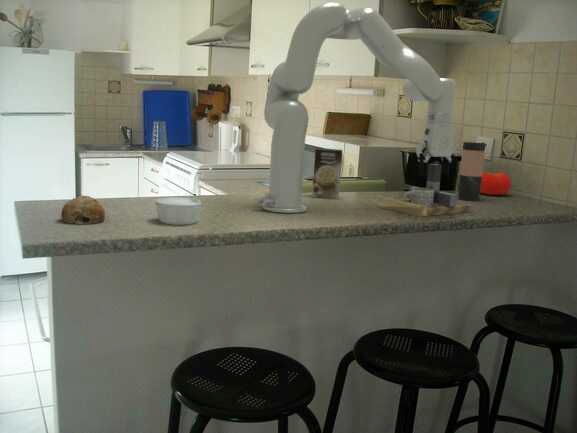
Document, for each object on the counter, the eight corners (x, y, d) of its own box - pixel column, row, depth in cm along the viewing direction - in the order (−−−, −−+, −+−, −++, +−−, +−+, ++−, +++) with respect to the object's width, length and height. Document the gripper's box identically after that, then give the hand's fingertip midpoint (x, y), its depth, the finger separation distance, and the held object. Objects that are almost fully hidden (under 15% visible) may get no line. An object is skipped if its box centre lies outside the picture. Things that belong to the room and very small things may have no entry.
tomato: (504, 193, 246) (507, 171, 244) (512, 198, 234) (515, 175, 232) (471, 191, 247) (474, 169, 246) (477, 195, 235) (479, 173, 234)
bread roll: (62, 239, 148) (63, 211, 144) (59, 213, 156) (60, 186, 151) (106, 237, 152) (108, 210, 148) (100, 212, 160) (102, 186, 155)
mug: (425, 208, 199) (427, 187, 198) (436, 212, 193) (438, 190, 192) (397, 208, 196) (398, 187, 195) (406, 212, 190) (408, 190, 189)
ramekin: (208, 224, 156) (208, 203, 155) (165, 227, 150) (166, 205, 149) (189, 216, 165) (190, 196, 164) (148, 218, 159) (149, 198, 158)
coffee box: (311, 197, 209) (314, 148, 206) (312, 194, 215) (315, 147, 212) (338, 199, 208) (342, 150, 205) (339, 196, 214) (342, 149, 211)
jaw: (449, 206, 190) (453, 167, 188) (408, 197, 204) (411, 161, 202) (456, 206, 192) (460, 167, 190) (414, 197, 205) (418, 161, 203)
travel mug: (482, 199, 225) (488, 143, 221) (476, 202, 219) (482, 144, 215) (461, 197, 229) (466, 141, 225) (454, 199, 223) (460, 142, 219)
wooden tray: (418, 216, 183) (419, 206, 182) (378, 206, 197) (379, 197, 196) (472, 211, 197) (473, 202, 196) (431, 203, 210) (431, 194, 210)
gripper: (429, 119, 185) (423, 177, 188) (467, 120, 195) (461, 175, 198) (410, 117, 191) (405, 173, 194) (448, 119, 201) (442, 172, 204)
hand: (433, 174), depth 196 cm, fingers open, 9 cm apart
